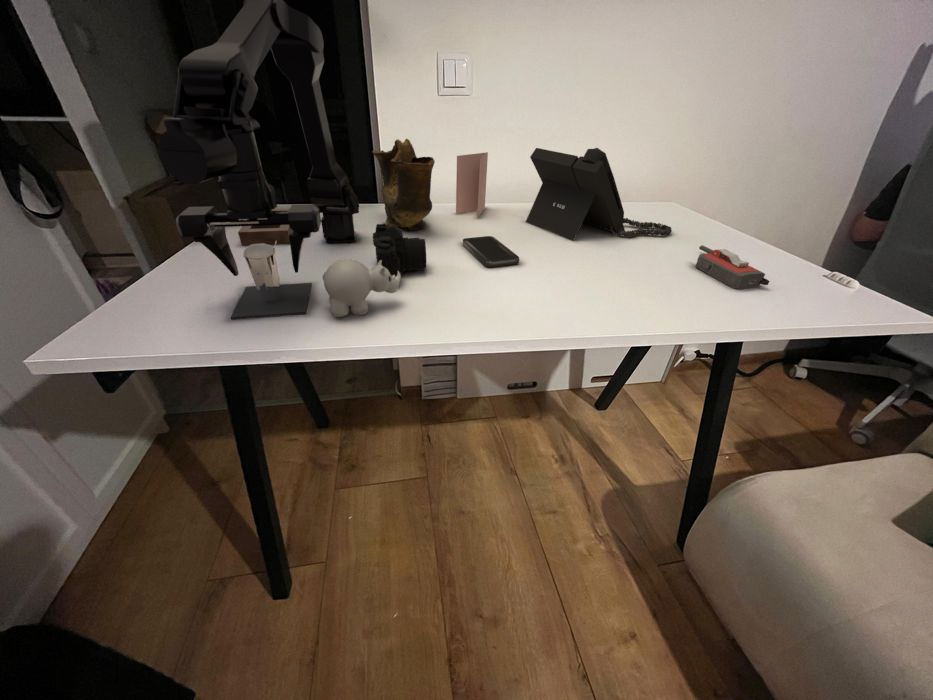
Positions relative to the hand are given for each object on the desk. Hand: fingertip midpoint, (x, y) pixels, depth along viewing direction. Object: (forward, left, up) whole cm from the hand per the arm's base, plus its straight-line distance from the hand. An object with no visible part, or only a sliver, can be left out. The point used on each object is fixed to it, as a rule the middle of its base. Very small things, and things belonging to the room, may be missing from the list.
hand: (267, 273), depth 65 cm
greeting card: (-47, -47, -5) cm, 67 cm away
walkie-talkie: (-88, 0, -5) cm, 88 cm away
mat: (0, 0, -5) cm, 5 cm away
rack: (+6, -37, -5) cm, 38 cm away
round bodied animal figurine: (-15, +5, -5) cm, 17 cm away
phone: (-42, -16, -5) cm, 45 cm away
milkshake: (0, 0, -5) cm, 5 cm away
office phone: (-76, -31, -5) cm, 82 cm away
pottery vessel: (-26, -38, -5) cm, 46 cm away
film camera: (-22, -9, -5) cm, 24 cm away
